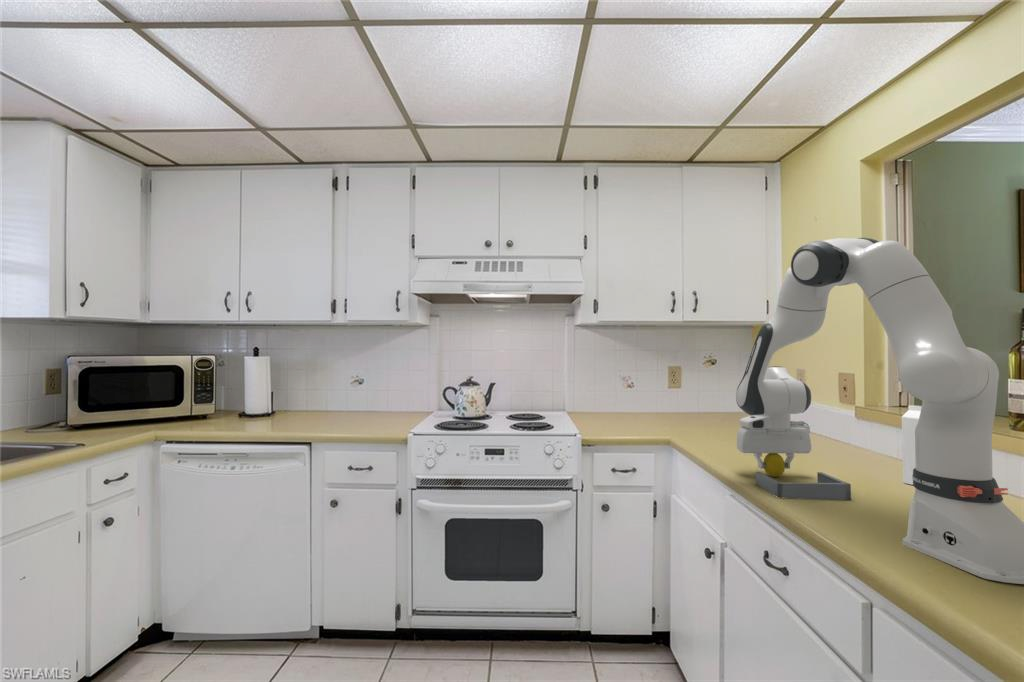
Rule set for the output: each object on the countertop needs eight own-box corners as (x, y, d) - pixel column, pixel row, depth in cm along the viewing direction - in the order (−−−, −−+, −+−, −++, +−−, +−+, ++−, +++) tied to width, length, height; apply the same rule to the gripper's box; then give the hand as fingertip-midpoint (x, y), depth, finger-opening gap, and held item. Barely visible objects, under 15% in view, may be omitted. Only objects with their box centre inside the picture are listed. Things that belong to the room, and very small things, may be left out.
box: (851, 500, 119) (850, 484, 119) (777, 499, 120) (777, 483, 120) (822, 486, 131) (821, 472, 131) (755, 486, 132) (755, 471, 132)
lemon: (787, 481, 136) (787, 453, 136) (767, 480, 137) (766, 453, 138) (781, 476, 142) (780, 449, 142) (761, 475, 143) (760, 449, 143)
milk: (926, 488, 129) (924, 407, 129) (902, 482, 135) (900, 405, 135) (941, 486, 131) (939, 406, 131) (917, 480, 137) (915, 404, 137)
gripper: (803, 419, 143) (804, 465, 142) (734, 419, 144) (734, 465, 143) (815, 422, 136) (816, 471, 136) (743, 422, 137) (743, 470, 137)
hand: (774, 468), depth 140 cm, fingers closed on lemon, 5 cm apart
